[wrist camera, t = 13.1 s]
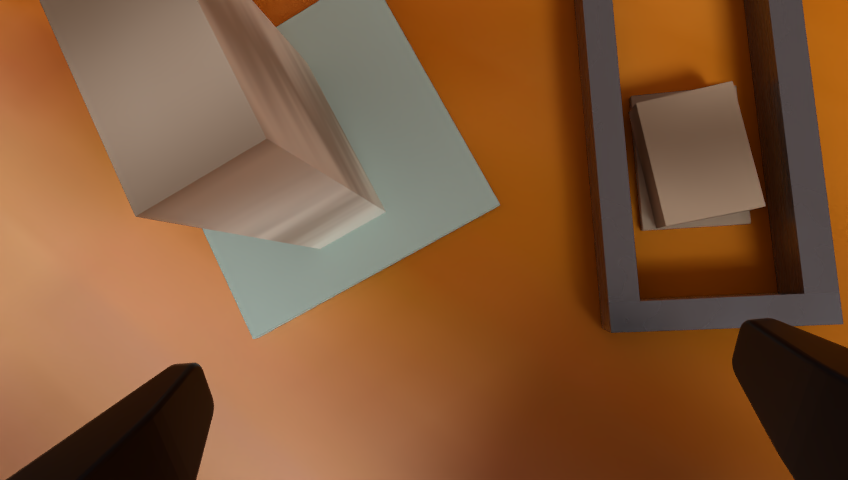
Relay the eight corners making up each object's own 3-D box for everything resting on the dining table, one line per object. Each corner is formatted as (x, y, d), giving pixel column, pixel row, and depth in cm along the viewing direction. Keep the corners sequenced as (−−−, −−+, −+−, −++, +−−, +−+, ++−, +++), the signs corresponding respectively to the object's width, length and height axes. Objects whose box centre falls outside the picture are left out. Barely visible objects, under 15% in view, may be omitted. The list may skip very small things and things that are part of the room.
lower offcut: (737, 226, 18) (751, 223, 17) (635, 232, 19) (643, 230, 18) (723, 95, 19) (736, 85, 18) (624, 105, 19) (631, 95, 18)
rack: (813, 320, 17) (843, 324, 15) (601, 328, 18) (611, 332, 16) (753, -162, 19) (775, -200, 17) (563, -130, 20) (568, -163, 18)
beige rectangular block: (386, 211, 19) (266, 138, 9) (320, 249, 19) (135, 216, 9) (307, 63, 20) (124, -146, 10) (246, 100, 20) (8, -69, 10)
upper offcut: (750, 210, 17) (765, 206, 16) (656, 228, 18) (665, 225, 17) (719, 92, 18) (732, 81, 17) (628, 112, 18) (636, 103, 17)
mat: (499, 205, 19) (499, 204, 18) (258, 338, 20) (253, 339, 19) (370, -24, 20) (368, -30, 20) (152, 110, 21) (146, 107, 21)
